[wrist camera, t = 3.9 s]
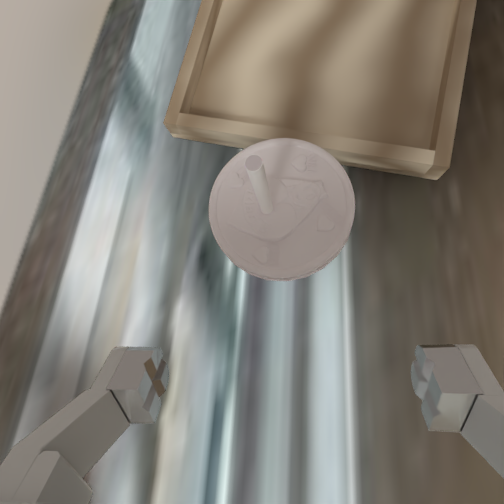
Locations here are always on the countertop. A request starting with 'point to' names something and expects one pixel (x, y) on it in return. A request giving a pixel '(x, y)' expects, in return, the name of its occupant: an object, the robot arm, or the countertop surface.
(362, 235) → the countertop surface
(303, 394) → the countertop surface
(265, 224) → the smoothie
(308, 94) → the tray
